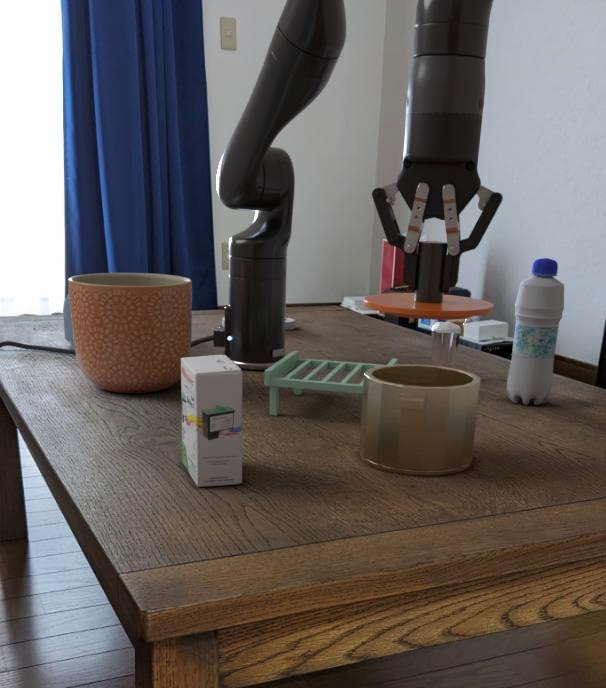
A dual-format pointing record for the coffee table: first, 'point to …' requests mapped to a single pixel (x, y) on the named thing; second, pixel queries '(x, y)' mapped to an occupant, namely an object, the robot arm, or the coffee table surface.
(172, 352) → the planter
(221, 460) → the ink box
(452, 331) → the milkshake
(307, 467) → the coffee table surface
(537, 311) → the bottle
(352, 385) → the rack
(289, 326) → the game controller
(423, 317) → the lid
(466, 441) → the pot
